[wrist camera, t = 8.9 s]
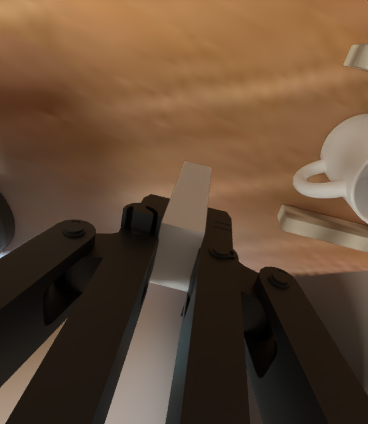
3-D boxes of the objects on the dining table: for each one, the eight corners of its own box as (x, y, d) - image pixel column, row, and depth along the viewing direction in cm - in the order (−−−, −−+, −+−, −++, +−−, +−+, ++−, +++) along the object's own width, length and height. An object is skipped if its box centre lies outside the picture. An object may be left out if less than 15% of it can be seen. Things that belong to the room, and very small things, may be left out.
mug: (289, 197, 36) (309, 244, 27) (279, 132, 32) (298, 162, 23) (399, 175, 33) (462, 220, 24) (400, 101, 29) (476, 121, 20)
